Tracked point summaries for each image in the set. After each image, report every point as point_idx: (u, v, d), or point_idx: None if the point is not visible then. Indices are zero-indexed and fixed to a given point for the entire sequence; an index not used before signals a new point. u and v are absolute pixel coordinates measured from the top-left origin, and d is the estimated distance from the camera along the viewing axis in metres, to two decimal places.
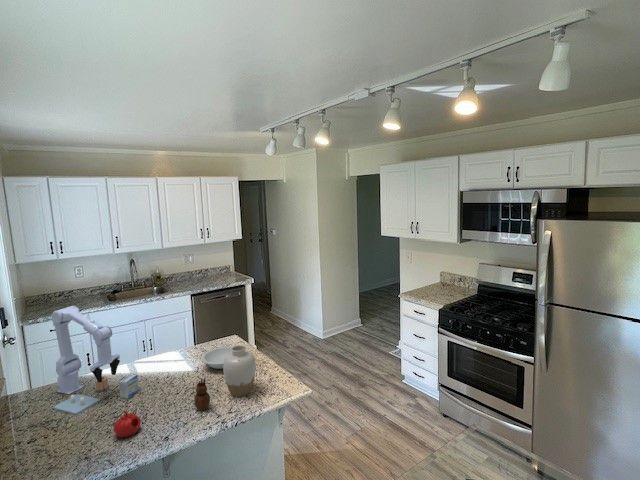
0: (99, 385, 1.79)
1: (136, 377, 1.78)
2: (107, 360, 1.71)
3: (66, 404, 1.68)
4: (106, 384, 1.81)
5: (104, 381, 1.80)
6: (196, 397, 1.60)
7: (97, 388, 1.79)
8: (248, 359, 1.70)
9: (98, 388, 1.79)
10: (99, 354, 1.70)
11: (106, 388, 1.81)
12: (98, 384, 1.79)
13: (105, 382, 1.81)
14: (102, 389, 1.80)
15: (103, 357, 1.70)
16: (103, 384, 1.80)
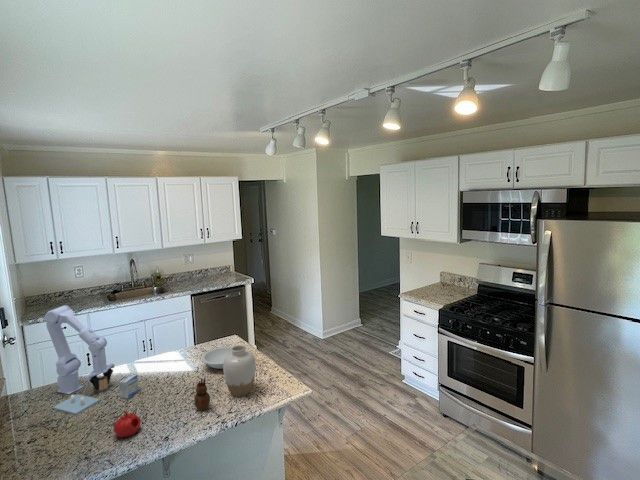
0: (99, 385, 1.79)
1: (136, 377, 1.78)
2: (102, 369, 1.79)
3: (66, 404, 1.68)
4: (106, 384, 1.81)
5: (104, 381, 1.80)
6: (196, 397, 1.60)
7: None
8: (248, 359, 1.70)
9: None
10: (94, 364, 1.78)
11: (106, 388, 1.81)
12: None
13: (105, 382, 1.81)
14: (102, 389, 1.80)
15: (98, 367, 1.78)
16: (103, 384, 1.80)
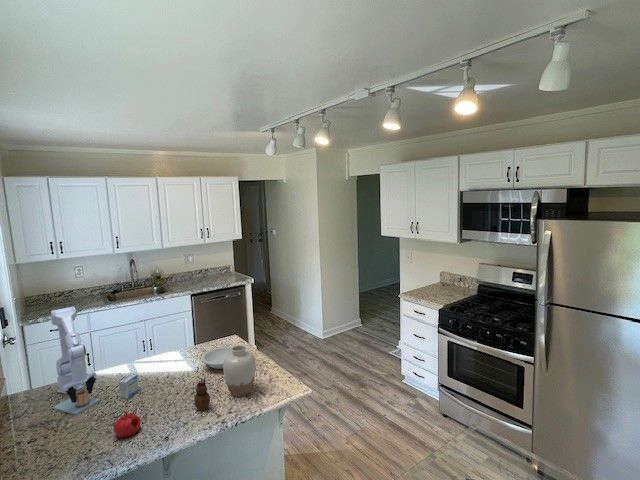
0: (79, 400, 1.64)
1: (136, 377, 1.78)
2: (82, 379, 1.64)
3: (66, 404, 1.68)
4: (87, 399, 1.66)
5: (84, 396, 1.65)
6: (196, 397, 1.60)
7: (77, 403, 1.64)
8: (248, 359, 1.70)
9: (78, 403, 1.64)
10: (73, 373, 1.63)
11: (87, 403, 1.66)
12: (78, 399, 1.64)
13: (86, 397, 1.66)
14: (82, 404, 1.65)
15: (77, 376, 1.63)
16: (83, 399, 1.65)
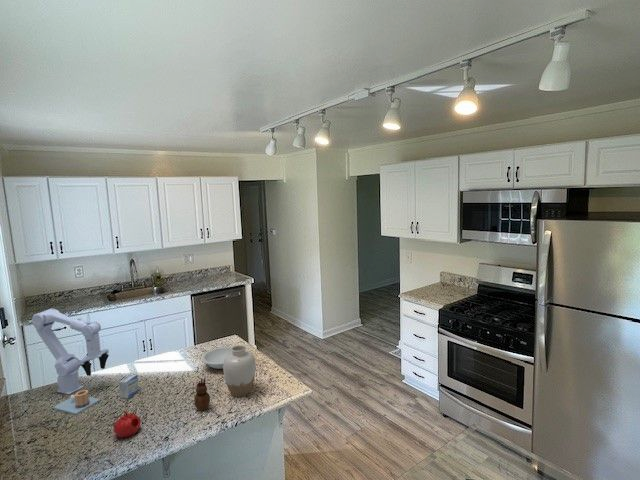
0: (79, 400, 1.64)
1: (136, 377, 1.78)
2: (96, 354, 1.78)
3: (66, 404, 1.68)
4: (87, 399, 1.66)
5: (84, 396, 1.65)
6: (196, 397, 1.60)
7: (77, 403, 1.64)
8: (248, 359, 1.70)
9: (78, 403, 1.64)
10: (88, 348, 1.77)
11: (87, 403, 1.66)
12: (78, 399, 1.64)
13: (86, 397, 1.66)
14: (82, 404, 1.65)
15: (92, 351, 1.77)
16: (83, 399, 1.65)
